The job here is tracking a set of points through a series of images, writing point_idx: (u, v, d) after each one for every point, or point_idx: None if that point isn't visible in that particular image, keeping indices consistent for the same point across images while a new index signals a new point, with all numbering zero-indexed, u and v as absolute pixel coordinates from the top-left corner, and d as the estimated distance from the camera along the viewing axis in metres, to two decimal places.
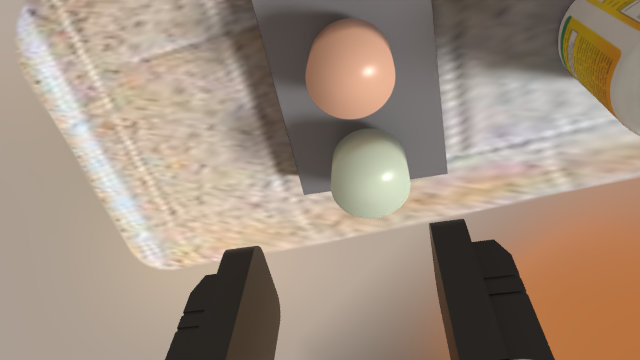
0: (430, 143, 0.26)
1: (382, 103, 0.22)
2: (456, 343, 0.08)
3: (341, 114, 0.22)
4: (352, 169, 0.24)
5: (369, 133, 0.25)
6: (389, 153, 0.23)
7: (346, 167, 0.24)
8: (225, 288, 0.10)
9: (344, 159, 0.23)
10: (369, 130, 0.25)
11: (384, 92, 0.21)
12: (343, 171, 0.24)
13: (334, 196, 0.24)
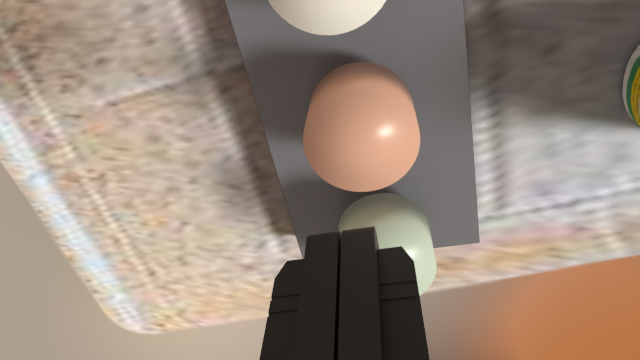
0: (459, 208, 0.21)
1: (402, 173, 0.17)
2: (338, 347, 0.08)
3: (349, 186, 0.17)
4: None
5: (384, 200, 0.20)
6: (410, 231, 0.18)
7: None
8: (316, 272, 0.10)
9: None
10: (385, 196, 0.20)
11: (405, 160, 0.17)
12: None
13: None
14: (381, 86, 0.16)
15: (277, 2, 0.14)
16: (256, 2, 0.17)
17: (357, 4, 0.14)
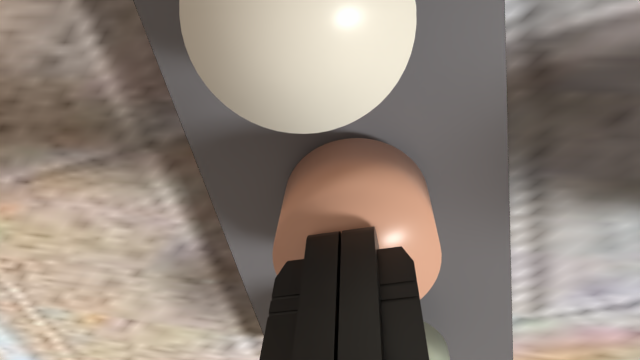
0: (488, 323, 0.16)
1: None
2: (338, 347, 0.08)
3: None
4: None
5: None
6: None
7: None
8: (316, 272, 0.10)
9: None
10: None
11: (419, 284, 0.12)
12: None
13: None
14: (385, 185, 0.11)
15: (218, 84, 0.09)
16: None
17: (349, 89, 0.09)
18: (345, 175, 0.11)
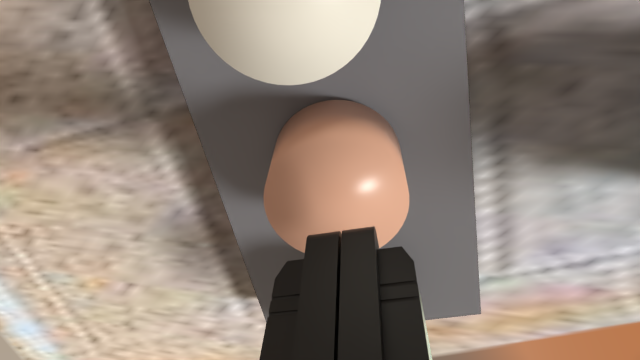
0: (457, 275, 0.18)
1: (387, 239, 0.14)
2: (338, 347, 0.08)
3: None
4: None
5: None
6: None
7: None
8: (316, 272, 0.10)
9: None
10: None
11: (391, 223, 0.13)
12: None
13: None
14: (360, 135, 0.12)
15: (217, 41, 0.10)
16: None
17: (327, 45, 0.10)
18: (326, 127, 0.13)
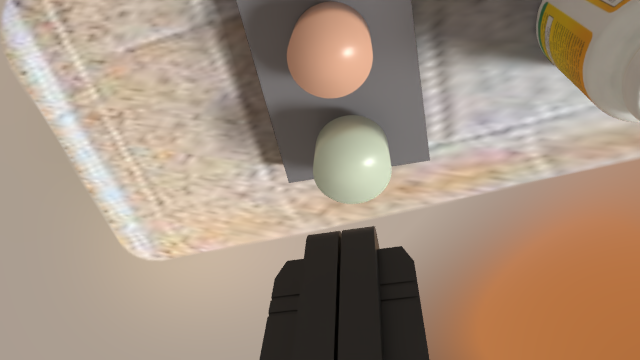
0: (412, 130, 0.27)
1: (361, 82, 0.23)
2: (338, 347, 0.08)
3: (322, 93, 0.23)
4: (333, 154, 0.24)
5: (351, 119, 0.25)
6: (370, 138, 0.24)
7: (327, 153, 0.24)
8: (316, 272, 0.10)
9: (325, 145, 0.24)
10: (351, 117, 0.25)
11: (362, 71, 0.22)
12: (325, 156, 0.24)
13: (316, 182, 0.25)
14: (343, 14, 0.22)
15: None
16: None
17: None
18: (323, 11, 0.22)
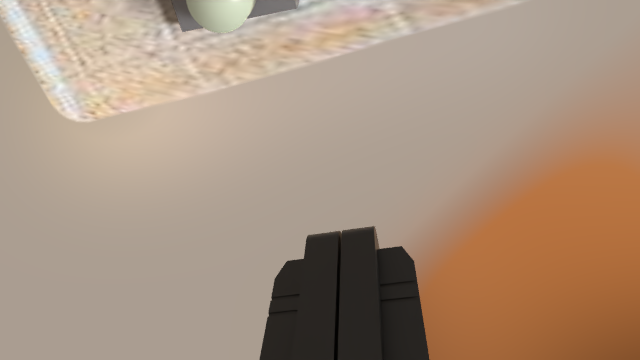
0: None
1: None
2: (338, 347, 0.08)
3: None
4: None
5: None
6: None
7: None
8: (316, 272, 0.10)
9: None
10: None
11: None
12: None
13: (190, 11, 0.30)
14: None
15: None
16: None
17: None
18: None
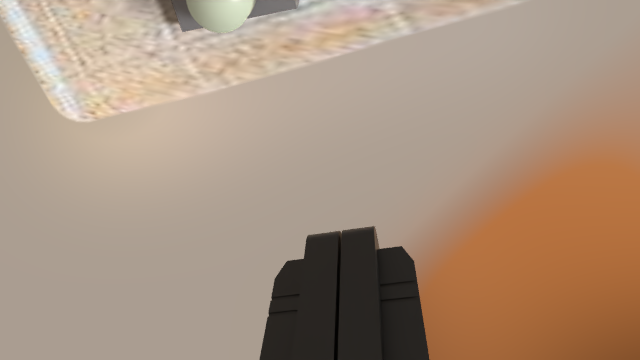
0: None
1: None
2: (338, 347, 0.08)
3: None
4: None
5: None
6: None
7: None
8: (316, 272, 0.10)
9: None
10: None
11: None
12: None
13: (190, 11, 0.30)
14: None
15: None
16: None
17: None
18: None
